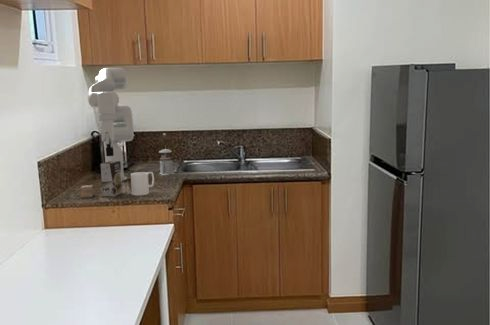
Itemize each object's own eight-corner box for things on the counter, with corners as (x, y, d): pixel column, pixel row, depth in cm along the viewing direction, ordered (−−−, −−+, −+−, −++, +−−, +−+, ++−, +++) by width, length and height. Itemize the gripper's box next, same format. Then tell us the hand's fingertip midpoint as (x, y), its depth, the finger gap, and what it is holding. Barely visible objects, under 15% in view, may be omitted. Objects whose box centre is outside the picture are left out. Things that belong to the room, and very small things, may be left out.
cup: (158, 192, 233) (157, 172, 231) (136, 196, 225) (135, 175, 224) (151, 190, 239) (149, 170, 237) (129, 193, 231) (127, 173, 230)
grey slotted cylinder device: (177, 172, 292) (174, 132, 289) (170, 175, 281) (168, 133, 277) (161, 172, 294) (159, 132, 290) (155, 175, 283) (152, 134, 279)
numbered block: (83, 195, 231) (82, 185, 230) (93, 195, 231) (92, 184, 231) (81, 197, 226) (80, 187, 225) (92, 197, 227) (91, 186, 226)
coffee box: (114, 196, 225) (112, 163, 223) (102, 196, 227) (99, 163, 224) (123, 192, 234) (120, 160, 232) (111, 192, 236) (108, 160, 233)
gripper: (101, 117, 232) (104, 154, 234) (96, 118, 217) (99, 158, 220) (116, 117, 233) (119, 153, 236) (113, 118, 218) (116, 157, 221)
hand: (110, 155), depth 228 cm, fingers closed
